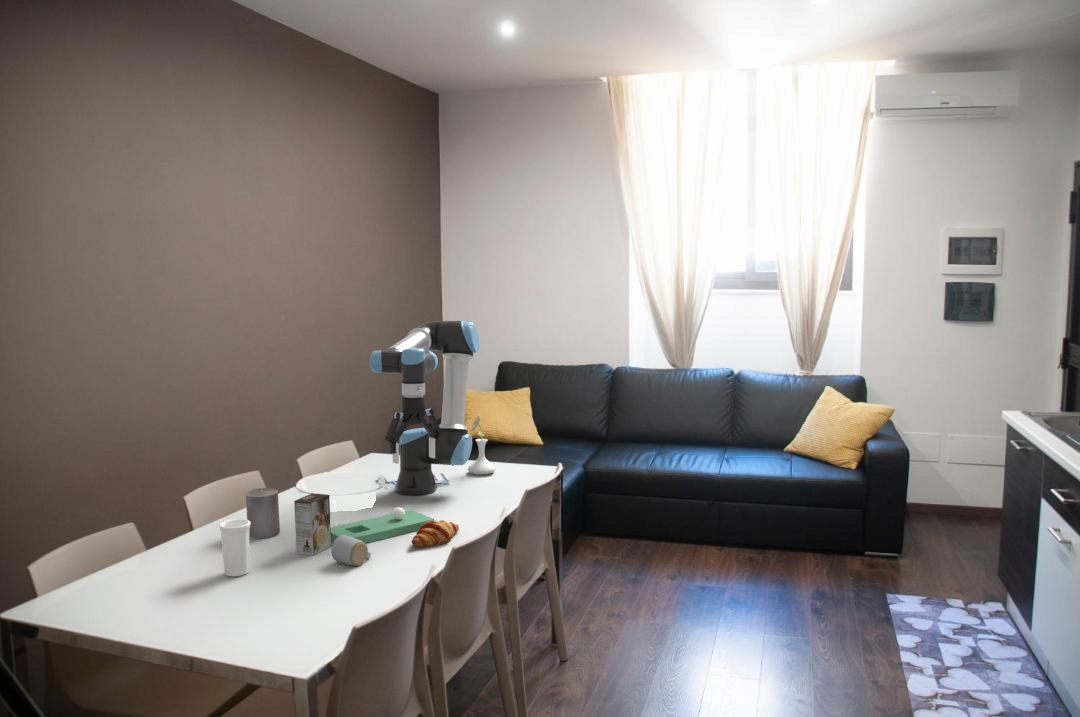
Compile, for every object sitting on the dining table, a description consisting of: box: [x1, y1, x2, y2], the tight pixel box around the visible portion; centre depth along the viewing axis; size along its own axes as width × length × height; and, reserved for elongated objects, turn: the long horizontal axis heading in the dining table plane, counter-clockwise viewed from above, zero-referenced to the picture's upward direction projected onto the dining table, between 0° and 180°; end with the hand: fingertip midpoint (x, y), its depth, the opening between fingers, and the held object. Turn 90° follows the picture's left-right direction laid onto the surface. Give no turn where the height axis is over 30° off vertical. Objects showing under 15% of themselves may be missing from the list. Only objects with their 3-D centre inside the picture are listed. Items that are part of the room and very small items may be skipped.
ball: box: [392, 506, 406, 520], centre depth 276 cm, size 4×4×4 cm
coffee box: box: [293, 492, 332, 556], centre depth 254 cm, size 9×6×16 cm
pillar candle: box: [245, 487, 281, 540], centre depth 268 cm, size 10×10×15 cm
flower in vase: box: [467, 413, 496, 476], centre depth 345 cm, size 13×11×25 cm
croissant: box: [411, 519, 460, 548], centre depth 264 cm, size 21×10×8 cm, turn 148°
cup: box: [218, 518, 251, 577], centre depth 234 cm, size 8×8×14 cm
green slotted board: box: [330, 509, 435, 544], centre depth 272 cm, size 32×14×2 cm, turn 132°
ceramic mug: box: [330, 535, 372, 567], centre depth 244 cm, size 11×8×8 cm
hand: (414, 460), depth 279 cm, fingers open, 13 cm apart
